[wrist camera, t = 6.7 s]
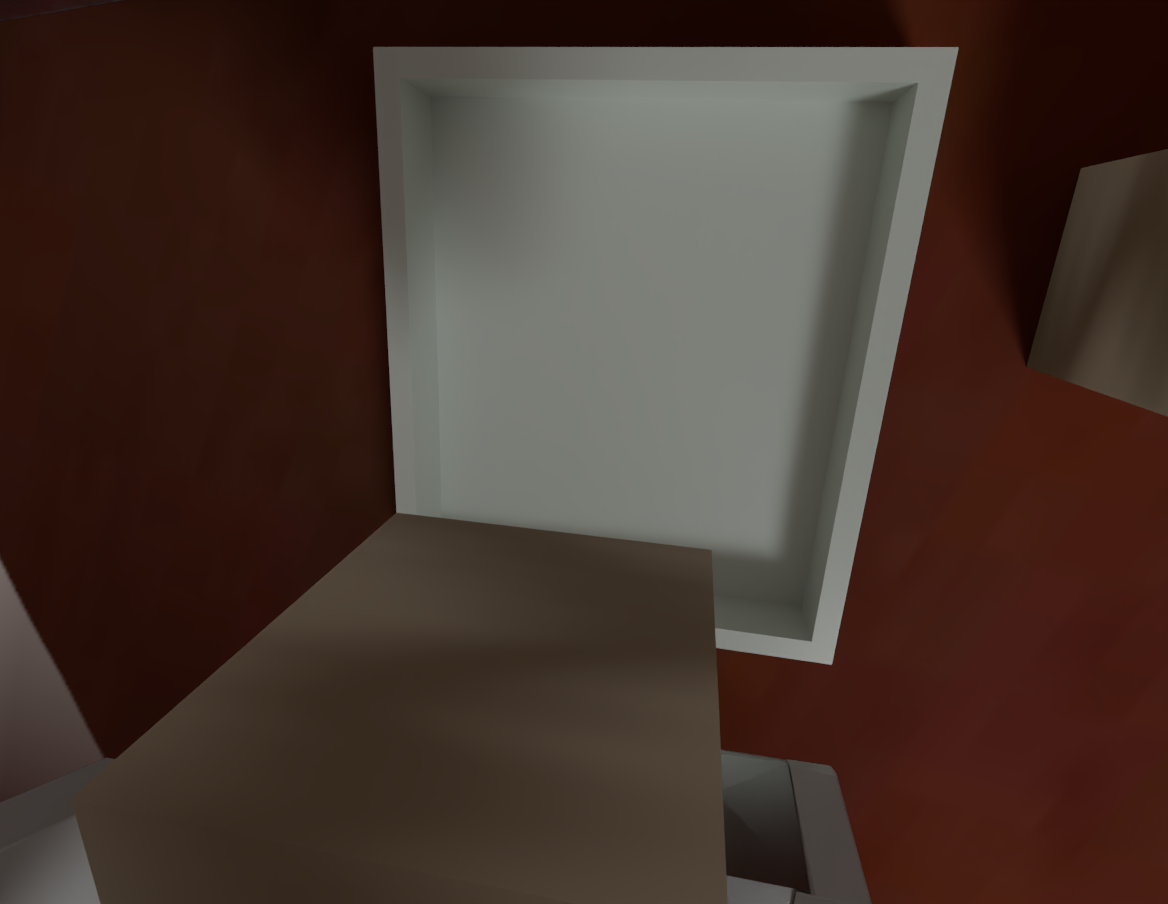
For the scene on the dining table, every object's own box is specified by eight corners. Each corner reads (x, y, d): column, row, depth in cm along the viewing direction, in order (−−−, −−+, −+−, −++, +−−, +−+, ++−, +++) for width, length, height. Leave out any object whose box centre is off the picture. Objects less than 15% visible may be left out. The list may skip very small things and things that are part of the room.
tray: (816, 617, 18) (832, 664, 16) (431, 566, 20) (401, 601, 18) (920, 77, 14) (958, 47, 12) (416, 74, 16) (373, 47, 14)
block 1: (711, 549, 8) (730, 934, 4) (679, 805, 10) (664, 1318, 5) (396, 512, 9) (71, 798, 4) (410, 757, 10) (177, 1172, 6)
